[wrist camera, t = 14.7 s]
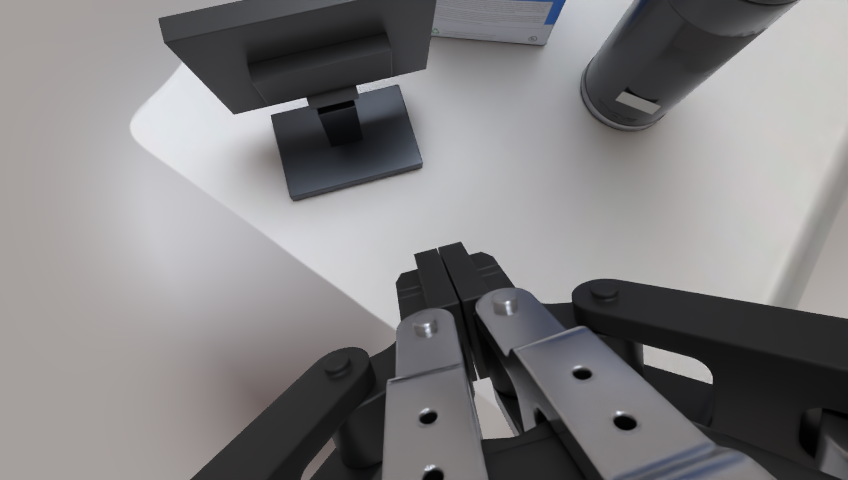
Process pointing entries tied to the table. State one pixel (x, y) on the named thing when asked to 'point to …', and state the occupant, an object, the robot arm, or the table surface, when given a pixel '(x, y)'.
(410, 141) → the monitor stand
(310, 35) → the panel
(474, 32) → the string lights box
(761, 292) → the table surface
